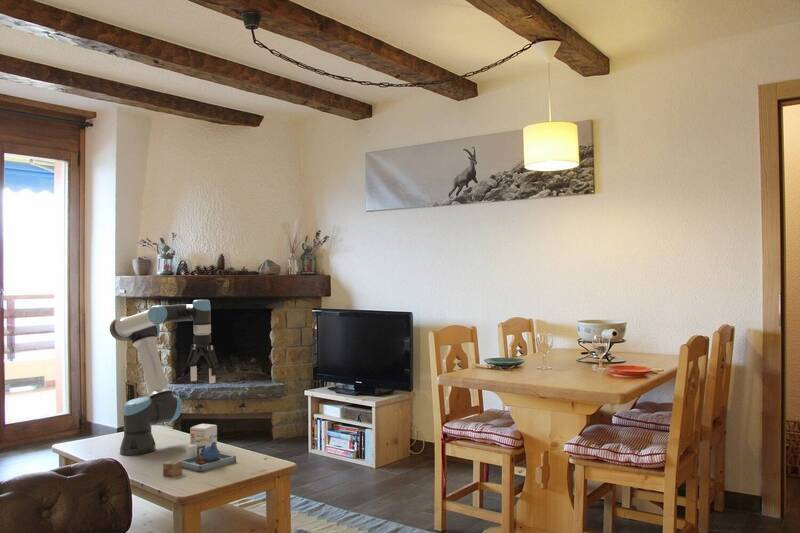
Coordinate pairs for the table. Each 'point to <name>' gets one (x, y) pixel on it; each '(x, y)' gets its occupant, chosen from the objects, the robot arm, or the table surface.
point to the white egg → (191, 450)
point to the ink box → (203, 435)
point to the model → (207, 454)
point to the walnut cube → (172, 468)
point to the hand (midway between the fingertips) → (202, 382)
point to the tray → (191, 464)
